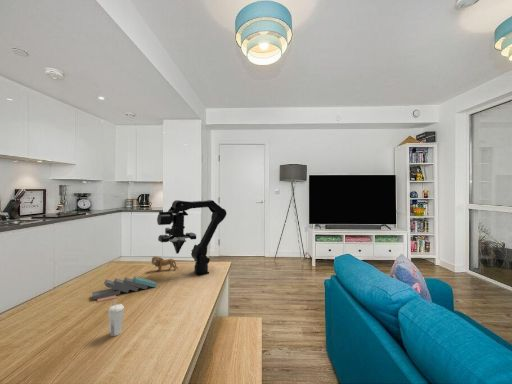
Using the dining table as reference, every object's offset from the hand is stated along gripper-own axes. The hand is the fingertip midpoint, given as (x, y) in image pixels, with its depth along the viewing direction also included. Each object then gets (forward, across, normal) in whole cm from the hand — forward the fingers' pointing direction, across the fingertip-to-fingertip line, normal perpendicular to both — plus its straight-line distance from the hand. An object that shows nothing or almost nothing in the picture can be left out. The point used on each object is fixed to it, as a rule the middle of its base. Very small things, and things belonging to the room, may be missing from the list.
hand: (177, 253), depth 132 cm
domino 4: (+13, +16, +4) cm, 21 cm away
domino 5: (+13, +12, +4) cm, 18 cm away
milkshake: (+14, +35, +37) cm, 52 cm away
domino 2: (+13, +24, +3) cm, 27 cm away
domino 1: (+12, +28, +3) cm, 30 cm away
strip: (+14, +33, +3) cm, 36 cm away
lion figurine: (+14, +1, -16) cm, 21 cm away
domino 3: (+13, +20, +3) cm, 24 cm away
